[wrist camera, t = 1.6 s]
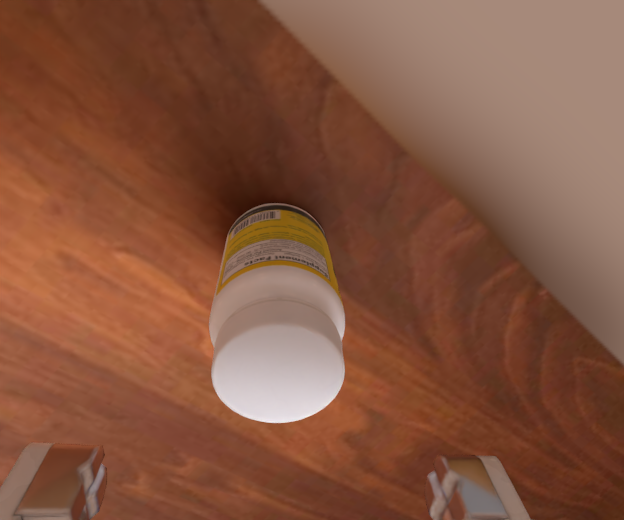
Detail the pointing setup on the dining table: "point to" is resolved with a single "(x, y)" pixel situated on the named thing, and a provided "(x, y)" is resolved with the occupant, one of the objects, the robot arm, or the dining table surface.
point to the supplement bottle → (277, 317)
